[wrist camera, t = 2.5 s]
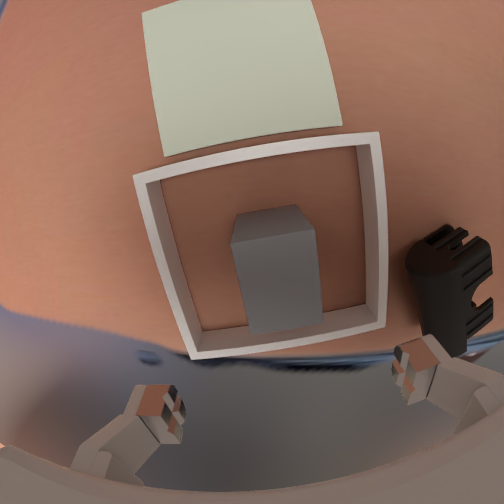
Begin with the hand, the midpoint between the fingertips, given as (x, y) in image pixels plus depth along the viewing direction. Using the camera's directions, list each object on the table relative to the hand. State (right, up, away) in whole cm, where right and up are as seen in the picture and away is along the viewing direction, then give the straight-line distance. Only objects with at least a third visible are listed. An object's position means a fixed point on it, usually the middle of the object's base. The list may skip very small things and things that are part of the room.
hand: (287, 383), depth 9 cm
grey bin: (0, +5, +13) cm, 14 cm away
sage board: (-2, +19, +8) cm, 21 cm away
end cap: (+16, +2, +14) cm, 22 cm away
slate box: (0, +5, +13) cm, 14 cm away
